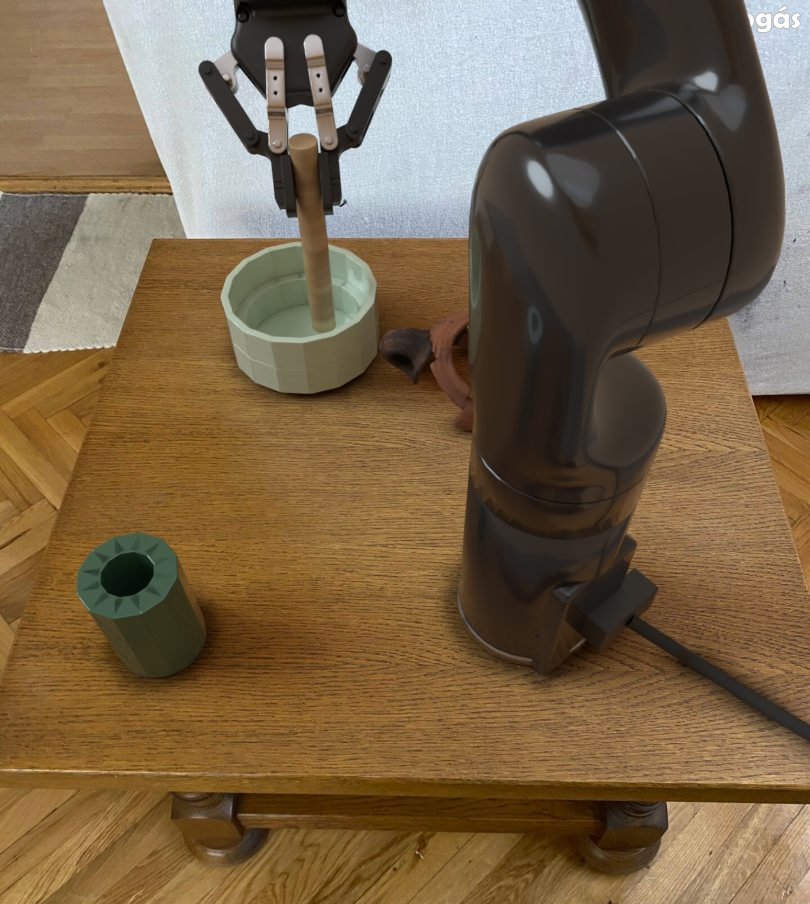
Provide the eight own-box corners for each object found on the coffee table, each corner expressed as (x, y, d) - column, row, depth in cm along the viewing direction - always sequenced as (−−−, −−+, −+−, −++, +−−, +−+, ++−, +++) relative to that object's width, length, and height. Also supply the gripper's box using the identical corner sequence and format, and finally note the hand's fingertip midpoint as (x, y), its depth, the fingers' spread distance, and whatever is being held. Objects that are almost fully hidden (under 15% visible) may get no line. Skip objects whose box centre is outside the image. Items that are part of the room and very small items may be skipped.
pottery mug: (510, 343, 71) (548, 305, 63) (502, 450, 69) (541, 425, 61) (373, 319, 68) (395, 276, 60) (363, 430, 67) (384, 401, 59)
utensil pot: (223, 641, 54) (196, 577, 48) (146, 695, 52) (107, 636, 45) (176, 585, 57) (145, 516, 50) (101, 634, 55) (58, 569, 48)
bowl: (408, 351, 70) (407, 293, 65) (292, 421, 65) (281, 365, 60) (320, 281, 75) (314, 223, 70) (207, 342, 70) (192, 285, 65)
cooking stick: (341, 326, 68) (323, 141, 55) (322, 337, 68) (299, 152, 54) (326, 314, 69) (305, 129, 56) (307, 324, 68) (281, 139, 55)
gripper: (165, -90, 50) (201, 210, 53) (391, -101, 51) (412, 195, 54) (189, -29, 57) (219, 231, 61) (385, -40, 58) (405, 218, 61)
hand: (310, 213), depth 57 cm, fingers closed on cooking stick, 2 cm apart
